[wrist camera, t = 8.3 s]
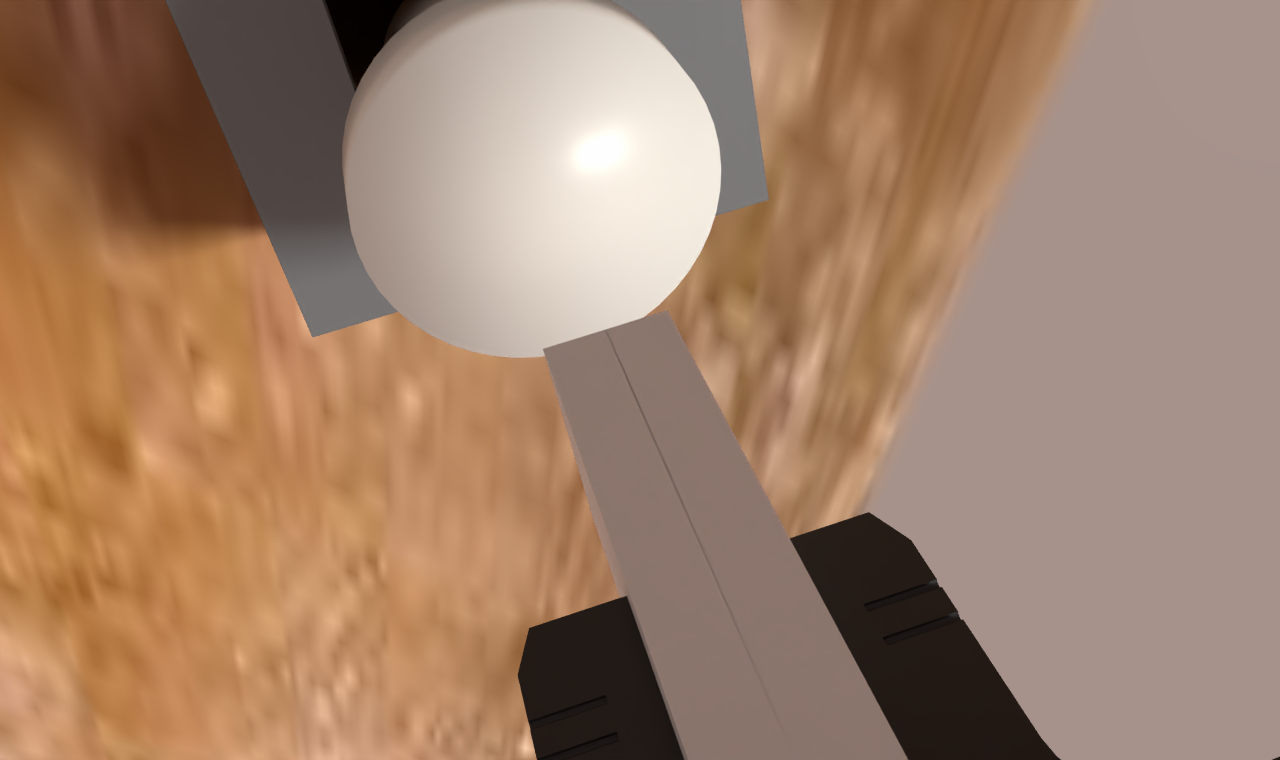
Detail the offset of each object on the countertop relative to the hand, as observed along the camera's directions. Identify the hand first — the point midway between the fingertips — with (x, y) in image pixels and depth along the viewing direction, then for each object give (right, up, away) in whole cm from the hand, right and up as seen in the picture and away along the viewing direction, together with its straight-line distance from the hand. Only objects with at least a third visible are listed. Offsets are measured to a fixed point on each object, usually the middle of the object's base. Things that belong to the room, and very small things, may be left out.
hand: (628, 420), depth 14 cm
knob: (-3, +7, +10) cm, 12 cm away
